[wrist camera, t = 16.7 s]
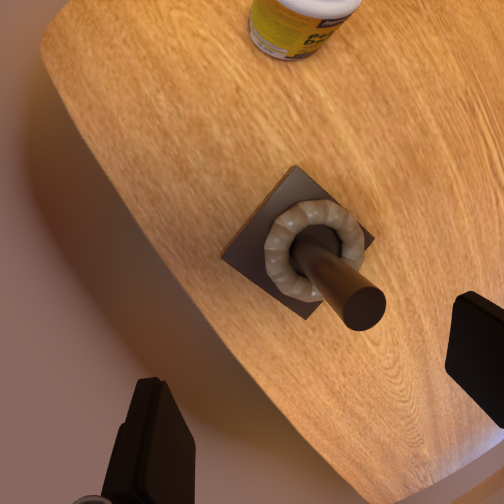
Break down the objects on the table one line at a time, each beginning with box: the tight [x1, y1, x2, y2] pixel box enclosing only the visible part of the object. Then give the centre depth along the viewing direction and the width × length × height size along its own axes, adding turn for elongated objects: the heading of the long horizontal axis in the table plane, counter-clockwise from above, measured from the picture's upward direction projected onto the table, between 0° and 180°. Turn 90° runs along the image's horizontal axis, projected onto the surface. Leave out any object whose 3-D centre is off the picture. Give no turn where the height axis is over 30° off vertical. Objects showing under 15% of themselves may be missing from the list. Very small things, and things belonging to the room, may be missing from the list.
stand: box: [221, 165, 386, 331], centre depth 17 cm, size 8×8×11 cm
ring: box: [264, 199, 364, 302], centre depth 21 cm, size 7×7×2 cm
